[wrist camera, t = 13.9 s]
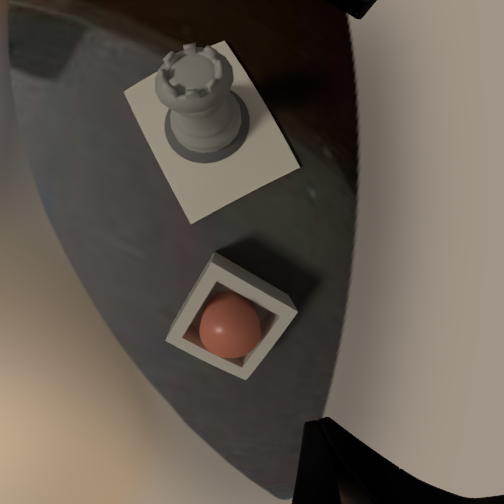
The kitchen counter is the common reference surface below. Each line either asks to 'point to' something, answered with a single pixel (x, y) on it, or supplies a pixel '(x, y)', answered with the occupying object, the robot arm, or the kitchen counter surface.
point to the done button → (230, 325)
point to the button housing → (248, 285)
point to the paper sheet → (219, 162)
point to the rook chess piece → (199, 98)
